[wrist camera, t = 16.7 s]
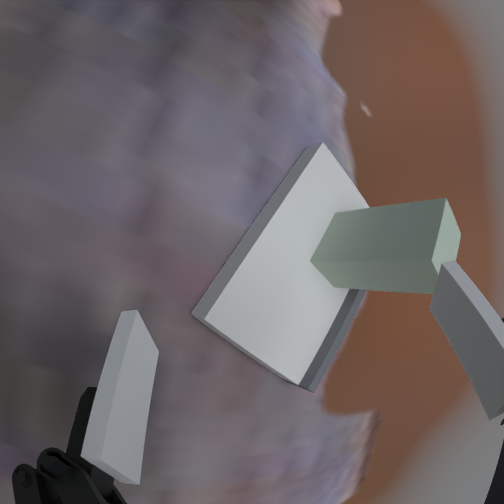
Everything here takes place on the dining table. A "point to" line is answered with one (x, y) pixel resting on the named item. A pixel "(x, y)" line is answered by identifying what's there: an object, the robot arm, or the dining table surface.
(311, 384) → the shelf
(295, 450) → the dining table surface
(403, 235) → the carton
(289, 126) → the dining table surface
